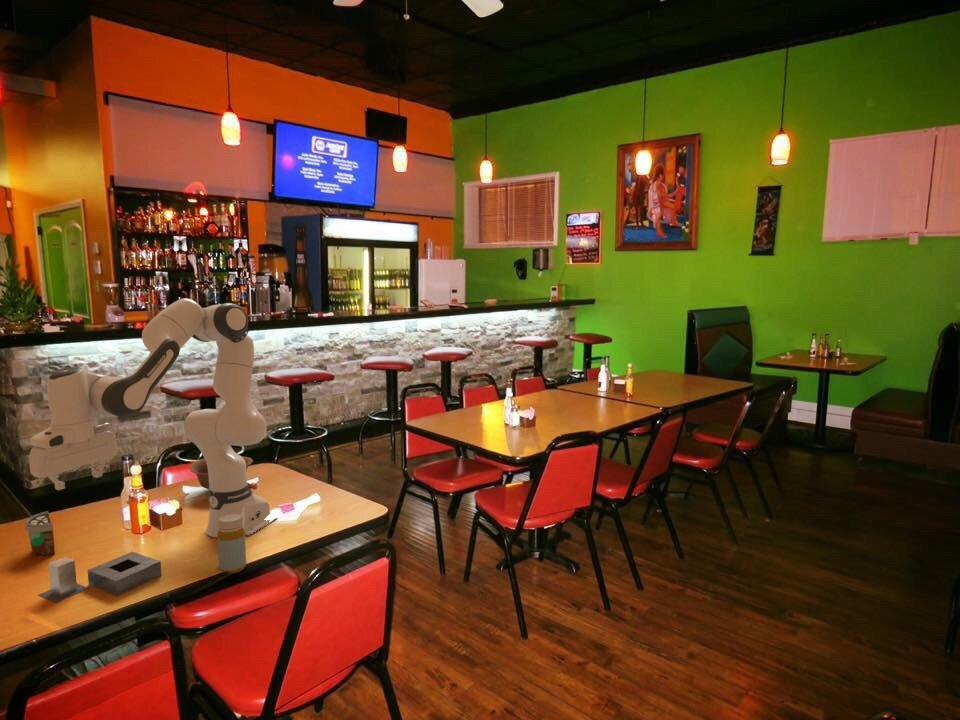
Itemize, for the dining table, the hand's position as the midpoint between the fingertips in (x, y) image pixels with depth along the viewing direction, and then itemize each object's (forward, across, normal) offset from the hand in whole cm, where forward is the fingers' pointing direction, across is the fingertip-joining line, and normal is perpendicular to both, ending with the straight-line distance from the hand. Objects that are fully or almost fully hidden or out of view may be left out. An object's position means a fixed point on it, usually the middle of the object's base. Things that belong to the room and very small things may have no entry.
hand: (79, 482), depth 157 cm
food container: (+28, -3, -29) cm, 40 cm away
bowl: (+30, -63, -24) cm, 74 cm away
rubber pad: (+27, +8, +2) cm, 28 cm away
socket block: (+27, -3, +11) cm, 29 cm away
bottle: (+28, -21, +29) cm, 45 cm away
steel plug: (+26, +8, +2) cm, 27 cm away
